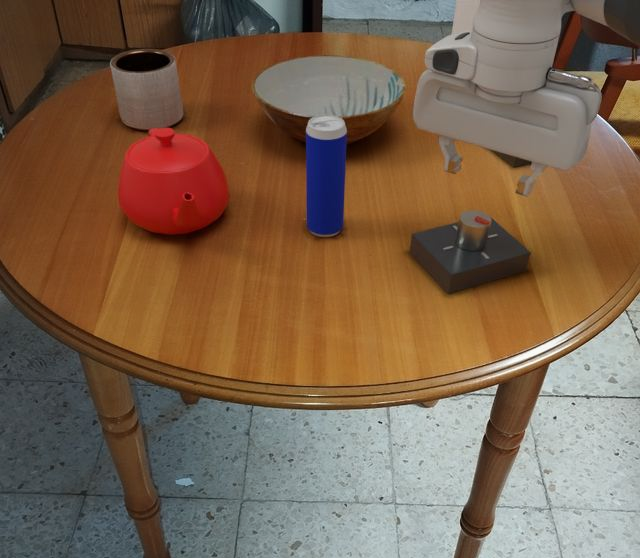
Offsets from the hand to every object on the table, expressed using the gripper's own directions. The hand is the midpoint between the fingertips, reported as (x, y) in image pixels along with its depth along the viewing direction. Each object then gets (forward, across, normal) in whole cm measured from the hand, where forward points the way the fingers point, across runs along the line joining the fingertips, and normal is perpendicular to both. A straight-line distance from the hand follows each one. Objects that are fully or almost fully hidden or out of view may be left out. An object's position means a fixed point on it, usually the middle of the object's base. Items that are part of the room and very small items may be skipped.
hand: (487, 182), depth 81 cm
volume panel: (+12, +1, 0) cm, 12 cm away
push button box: (+12, +9, -35) cm, 38 cm away
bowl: (+11, +37, -20) cm, 44 cm away
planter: (+11, +65, -7) cm, 66 cm away
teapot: (+11, +39, +14) cm, 43 cm away
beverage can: (+12, +21, +4) cm, 24 cm away
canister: (+12, +21, -46) cm, 52 cm away
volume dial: (+9, +1, 0) cm, 9 cm away
